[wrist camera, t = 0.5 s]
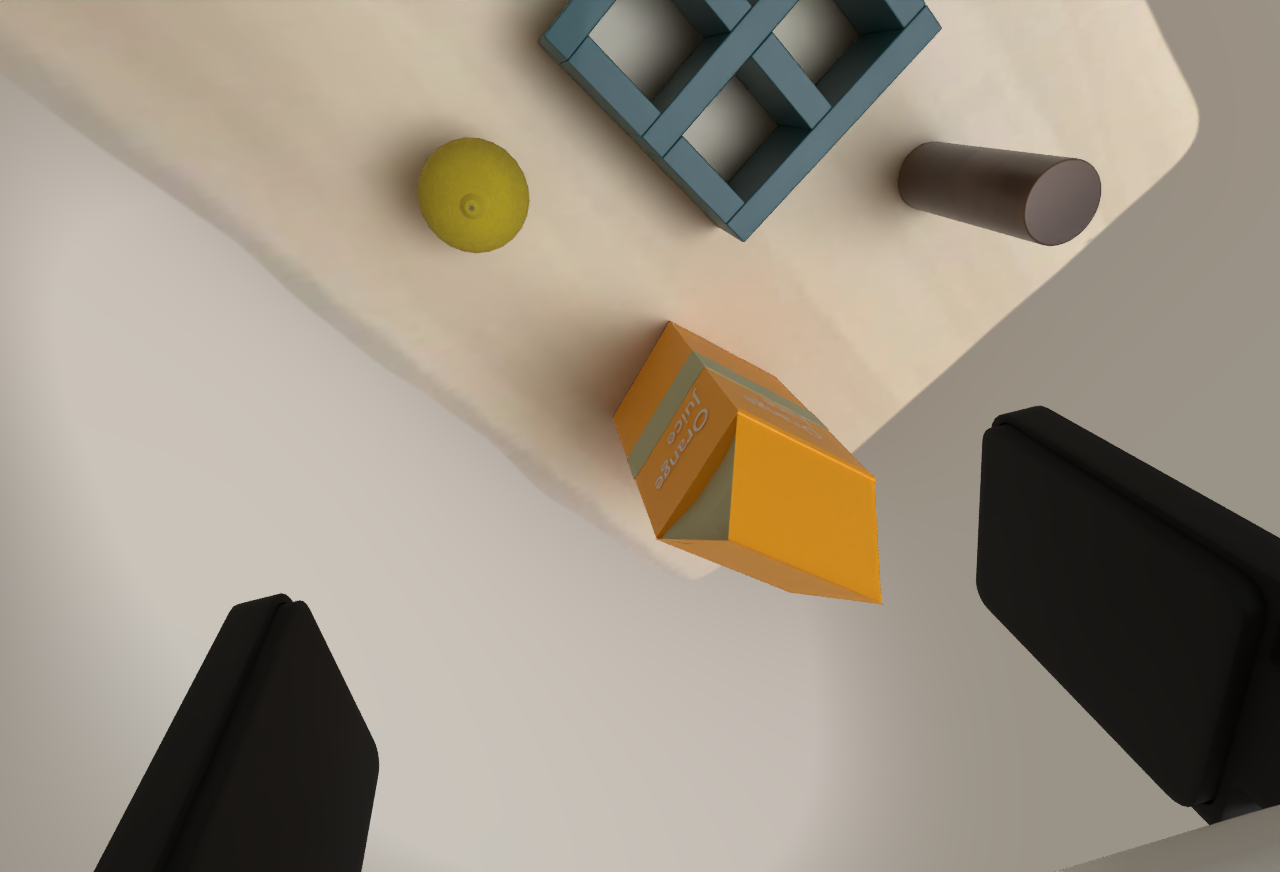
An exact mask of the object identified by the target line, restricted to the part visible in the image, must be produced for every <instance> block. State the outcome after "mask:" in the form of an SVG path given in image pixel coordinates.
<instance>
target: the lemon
mask: <svg viewBox="0 0 1280 872" xmlns="http://www.w3.org/2000/svg"><path fill="white" fill-rule="evenodd" d="M418 200H419V204H420V208H421V211H422V215H423V217H424V218H425V220H426V222H427V224H428V226H429V227H430V229H431V230H432V231H433V232H434V233H435V234H436V235H437V236H438V238H440V239H441V240H442V241H444V242H445V243H447V244H448V245H450V246H451V247H454V248H456V249H459V250H462V251H465V252H473V253H481V252H490V251H492V250H495V249H498V248H500V247H502V246H504V245H505V244H507V243H508V242H509V241H511V240H512V239H513V238H514V237H515V236H516V234H517V233H518V232H519V231H520V229H521V228H522V226H523V224H524V221H525V219H526V217H527V213H528V207H529V191H528V185H527V182H526V179H525V176H524V173H523V172H522V170H521V168H520V167H519V165H518V163H517V162H516V160H515V159H514V158H513V157H512V156H511V155H510V154H509V153H508V152H507V151H506V150H504V149H503V148H501V147H499V146H498V145H496V144H494V143H493V142H489V141H486V140H483V139H480V138H462V139H457V140H453V141H450V142H448V143H447V144H445V145H443V146H441V147H439V148H438V149H437V150H436V151H435V152H434V153H433V154H432V155H431V156H430V157H429V158H428V160H427V162H426V163H425V165H424V167H423V169H422V171H421V175H420V179H419V183H418Z"/></svg>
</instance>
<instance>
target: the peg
mask: <svg viewBox="0 0 1280 872" xmlns="http://www.w3.org/2000/svg"><path fill="white" fill-rule="evenodd" d="M898 183H899V191H900V194H901V196H902V198H903V200H904V201H905V202H906V203H907V204H908V205H909V206H910V207H912V208H915V209H918V210H922V211H925V212H929V213H932V214H936V215H939V216H943V217H946V218H950V219H953V220H957V221H960V222H964V223H967V224H971V225H974V226H978V227H981V228H985V229H989V230H992V231H996V232H999V233H1003V234H1006V235H1010V236H1013V237H1017V238H1020V239H1024V240H1027V241H1031V242H1034V243H1038V244H1041V245H1046V246H1055V245H1060V244H1063V243H1065V242H1068V241H1070V240H1072V239H1073V238H1075V237H1076V236H1077V235H1079V234H1080V233H1081V232H1082V231H1083V230H1084V229H1085V228H1086V227H1087V225H1088V224H1089V223H1090V221H1091V220H1092V218H1093V217H1094V215H1095V213H1096V211H1097V208H1098V205H1099V202H1100V197H1101V182H1100V178H1099V175H1098V173H1097V171H1096V170H1095V168H1094V167H1093V166H1092V165H1091V164H1090V163H1088V162H1086V161H1084V160H1082V159H1077V158H1068V157H1060V156H1052V155H1043V154H1035V153H1026V152H1018V151H1010V150H1001V149H993V148H984V147H976V146H967V145H959V144H951V143H942V142H929V143H925V144H923V145H921V146H919V147H917V148H916V149H915V150H914V151H913V152H911V153H910V155H909V156H908V157H907V158H906V160H905V161H904V163H903V165H902V168H901V170H900V174H899V182H898Z"/></svg>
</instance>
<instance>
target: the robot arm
mask: <svg viewBox="0 0 1280 872" xmlns="http://www.w3.org/2000/svg"><path fill="white" fill-rule="evenodd" d="M980 485H981V486H980V506H979V528H978V550H977V572H976V585H977V590H978V593H979V595H980V598H981V600H982V601H983V603H984V605H985V606H986V607H987V608H988V609H989V610H990V611H991V613H992V614H993V615H994V616H995V617H996V618H997V619H998V620H999V621H1000V622H1001V623H1002V624H1003V625H1004V626H1005V627H1006V628H1007V629H1008V630H1009V631H1010V632H1011V633H1012V634H1013V635H1014V636H1015V637H1016V638H1017V639H1018V641H1020V643H1021V644H1022V645H1023V646H1024V647H1025V648H1026V649H1027V650H1028V651H1029V652H1030V653H1031V654H1032V655H1033V656H1034V657H1035V658H1036V659H1037V660H1038V661H1039V662H1040V663H1041V664H1042V665H1043V666H1044V667H1045V668H1046V670H1047V671H1048V672H1049V673H1050V674H1051V675H1052V676H1053V677H1054V678H1055V679H1056V680H1057V681H1058V682H1059V683H1060V684H1061V685H1062V686H1063V687H1064V688H1065V689H1066V690H1067V691H1068V692H1069V693H1070V695H1072V696H1073V698H1074V699H1075V700H1076V701H1077V702H1078V703H1079V704H1080V705H1081V706H1082V707H1083V708H1084V709H1085V710H1086V711H1087V712H1088V713H1089V714H1090V715H1091V716H1092V717H1093V718H1094V719H1095V720H1096V721H1097V722H1098V724H1099V725H1100V726H1102V728H1103V729H1104V730H1105V731H1106V732H1107V733H1108V734H1109V735H1110V736H1111V737H1112V738H1113V739H1114V740H1115V741H1116V742H1117V743H1118V744H1119V745H1120V746H1121V747H1122V748H1123V749H1124V751H1126V753H1127V754H1128V755H1129V756H1130V757H1131V758H1132V759H1133V760H1134V761H1135V762H1136V763H1137V764H1138V765H1139V766H1140V767H1141V768H1142V769H1143V770H1144V771H1145V772H1146V773H1147V774H1148V775H1149V776H1150V778H1152V780H1154V782H1155V783H1156V784H1157V785H1158V786H1159V787H1160V788H1161V789H1162V790H1163V791H1164V792H1165V793H1166V794H1167V795H1168V796H1169V797H1170V798H1171V799H1172V800H1174V801H1175V802H1177V803H1178V804H1180V805H1182V806H1186V807H1190V806H1191V807H1192V808H1193V809H1194V810H1195V811H1196V812H1197V813H1198V814H1199V815H1200V816H1201V817H1202V818H1203V819H1204V820H1205V821H1206V822H1207V823H1208V824H1209V826H1206V827H1202V828H1199V829H1196V830H1192V831H1189V832H1186V833H1182V834H1179V835H1176V836H1172V837H1169V838H1166V839H1162V840H1159V841H1156V842H1152V843H1149V844H1146V845H1143V846H1139V847H1136V848H1133V849H1129V850H1126V851H1123V852H1119V853H1116V854H1112V855H1109V856H1106V857H1102V858H1099V859H1096V860H1093V861H1089V862H1086V863H1083V864H1079V865H1076V866H1073V867H1069V868H1066V869H1063V870H1060V871H1056V872H1280V538H1279V537H1277V536H1275V535H1273V534H1272V533H1270V532H1268V531H1266V530H1264V529H1263V528H1261V527H1259V526H1257V525H1255V524H1254V523H1252V522H1250V521H1248V520H1247V519H1245V518H1243V517H1241V516H1239V515H1238V514H1236V513H1234V512H1232V511H1231V510H1229V509H1226V508H1225V507H1223V506H1222V505H1220V504H1218V503H1216V502H1214V501H1213V500H1211V499H1209V498H1207V497H1206V496H1203V495H1202V494H1200V493H1198V492H1197V491H1194V490H1193V489H1191V488H1189V487H1187V486H1186V485H1184V484H1182V483H1180V482H1179V481H1177V480H1175V479H1173V478H1172V477H1170V476H1168V475H1166V474H1164V473H1163V472H1161V471H1159V470H1157V469H1156V468H1154V467H1152V466H1150V465H1148V464H1147V463H1145V462H1143V461H1141V460H1139V459H1137V458H1136V457H1134V456H1132V455H1130V454H1129V453H1127V452H1125V451H1123V450H1122V449H1120V448H1118V447H1116V446H1114V445H1113V444H1110V443H1109V442H1107V441H1106V440H1104V439H1102V438H1100V437H1098V436H1097V435H1095V434H1093V433H1091V432H1089V431H1088V430H1086V429H1084V428H1082V427H1080V426H1079V425H1077V424H1075V423H1073V422H1072V421H1070V420H1068V419H1066V418H1064V417H1063V416H1061V415H1059V414H1057V413H1056V412H1054V411H1052V410H1050V409H1048V408H1046V407H1043V406H1034V407H1030V408H1027V409H1022V410H1018V411H1014V412H1010V413H1006V414H1002V415H999V416H998V417H997V418H995V420H994V422H993V423H992V427H991V428H989V429H988V430H986V431H985V433H984V435H983V441H982V462H981V484H980ZM378 773H379V757H378V751H377V747H376V744H375V742H374V740H373V738H372V736H371V734H370V731H369V730H368V728H367V725H366V723H365V721H364V719H363V717H362V716H361V713H360V711H359V709H358V707H357V705H356V703H355V701H354V699H353V697H352V695H351V693H350V691H349V689H348V686H347V685H346V682H345V680H344V678H343V676H342V674H341V672H340V670H339V668H338V666H337V664H336V662H335V660H334V658H333V656H332V654H331V652H330V650H329V648H328V646H327V644H326V641H325V639H324V637H323V635H322V633H321V631H320V629H319V627H318V625H317V623H316V621H315V619H314V617H313V615H312V613H311V611H310V609H309V607H308V606H307V604H306V603H305V602H303V601H295V602H293V601H292V600H291V599H290V598H289V597H288V596H287V595H286V594H282V593H281V594H277V595H273V596H269V597H265V598H261V599H257V600H253V601H249V602H245V603H241V604H238V605H236V606H234V607H233V608H232V609H231V611H230V612H229V614H228V616H227V618H226V620H225V622H224V623H223V625H222V627H221V629H220V631H219V633H218V635H217V637H216V639H215V641H214V643H213V644H212V646H211V648H210V650H209V652H208V654H207V656H206V658H205V660H204V662H203V664H202V665H201V667H200V670H199V671H198V673H197V675H196V677H195V679H194V681H193V683H192V685H191V687H190V688H189V691H188V693H187V694H186V696H185V698H184V700H183V702H182V704H181V706H180V708H179V710H178V711H177V713H176V715H175V717H174V719H173V721H172V723H171V725H170V727H169V729H168V731H167V733H166V734H165V737H164V738H163V740H162V742H161V744H160V746H159V748H158V750H157V752H156V754H155V756H154V757H153V759H152V761H151V763H150V765H149V767H148V769H147V771H146V773H145V775H144V776H143V778H142V780H141V782H140V784H139V786H138V788H137V790H136V792H135V794H134V796H133V798H132V799H131V801H130V803H129V805H128V807H127V809H126V811H125V813H124V815H123V817H122V819H121V820H120V822H119V824H118V826H117V828H116V830H115V832H114V834H113V836H112V838H111V840H110V842H109V844H108V846H107V847H106V849H105V851H104V853H103V855H102V857H101V859H100V861H99V863H98V864H97V867H96V868H95V870H94V872H361V870H362V865H363V859H364V853H365V848H366V842H367V836H368V831H369V825H370V819H371V814H372V808H373V801H374V796H375V790H376V785H377V779H378Z"/></svg>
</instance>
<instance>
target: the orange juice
mask: <svg viewBox="0 0 1280 872" xmlns="http://www.w3.org/2000/svg"><path fill="white" fill-rule="evenodd" d="M613 419H614V422H615V425H616V428H617V430H618V433H619V436H620V439H621V441H622V444H623V447H624V450H625V452H626V455H627V461H628V464H629V466H630V469H631V472H632V475H633V477H634V479H635V480H636V483H637V486H638V488H639V491H640V494H641V497H642V499H643V502H644V505H645V508H646V511H647V513H648V516H649V519H650V522H651V524H652V527H653V530H654V533H655V535H656V538H658V539H657V540H659V541H662V542H664V543H667V544H669V545H672V546H674V547H677V548H680V549H682V550H685V551H687V552H690V553H692V554H695V555H697V556H700V557H702V558H705V559H707V560H710V561H712V562H715V563H717V564H720V565H722V566H725V567H728V568H730V569H733V570H735V571H737V572H740V573H742V574H745V575H748V576H750V577H753V578H755V579H757V580H760V581H762V582H765V583H768V584H770V585H773V586H775V587H778V588H780V589H783V590H785V591H788V592H791V593H799V594H806V595H814V596H822V597H830V598H837V599H845V600H854V601H861V602H868V603H876V604H882V603H881V588H880V571H879V553H878V535H877V517H876V500H875V482H876V481H877V480H876V479H875V478H874V475H872V474H870V473H869V472H868V470H867V469H865V467H863V465H861V463H860V462H859V461H858V460H857V459H856V458H855V457H854V456H853V455H852V454H851V453H850V452H849V451H848V450H847V449H846V448H845V447H844V446H843V445H842V444H841V443H840V442H839V441H838V440H837V439H836V438H835V437H834V436H833V435H832V434H831V433H830V432H829V431H828V429H827V428H826V427H825V425H824V424H823V423H822V422H821V421H820V420H819V419H818V418H817V417H816V416H815V415H814V414H813V413H812V412H810V411H809V410H808V409H807V408H806V407H805V406H804V405H803V404H802V403H801V402H800V401H799V400H798V399H797V398H796V397H795V396H794V395H793V394H792V393H791V392H790V391H789V390H788V389H787V388H786V387H785V386H784V385H783V384H782V383H781V382H780V381H779V380H778V379H777V378H776V377H775V376H773V375H771V374H769V373H767V372H765V371H763V370H761V369H760V368H758V367H756V366H754V365H752V364H750V363H748V362H746V361H744V360H743V359H741V358H739V357H737V356H735V355H733V354H731V353H729V352H728V351H726V350H724V349H722V348H720V347H718V346H716V345H714V344H712V343H711V342H709V341H707V340H705V339H703V338H701V337H699V336H697V335H696V334H694V333H692V332H690V331H688V330H686V329H684V328H682V327H680V326H679V325H677V324H675V323H673V322H671V321H669V323H668V325H667V326H666V328H665V330H664V331H663V333H662V335H661V337H660V338H659V340H658V342H657V343H656V345H655V347H654V348H653V350H652V352H651V354H650V355H649V357H648V359H647V360H646V362H645V364H644V365H643V367H642V369H641V371H640V372H639V374H638V376H637V377H636V379H635V381H634V383H633V384H632V386H631V388H630V389H629V391H628V393H627V394H626V396H625V398H624V400H623V401H622V403H621V405H620V406H619V408H618V410H617V412H616V413H615V415H614V417H613Z"/></svg>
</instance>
